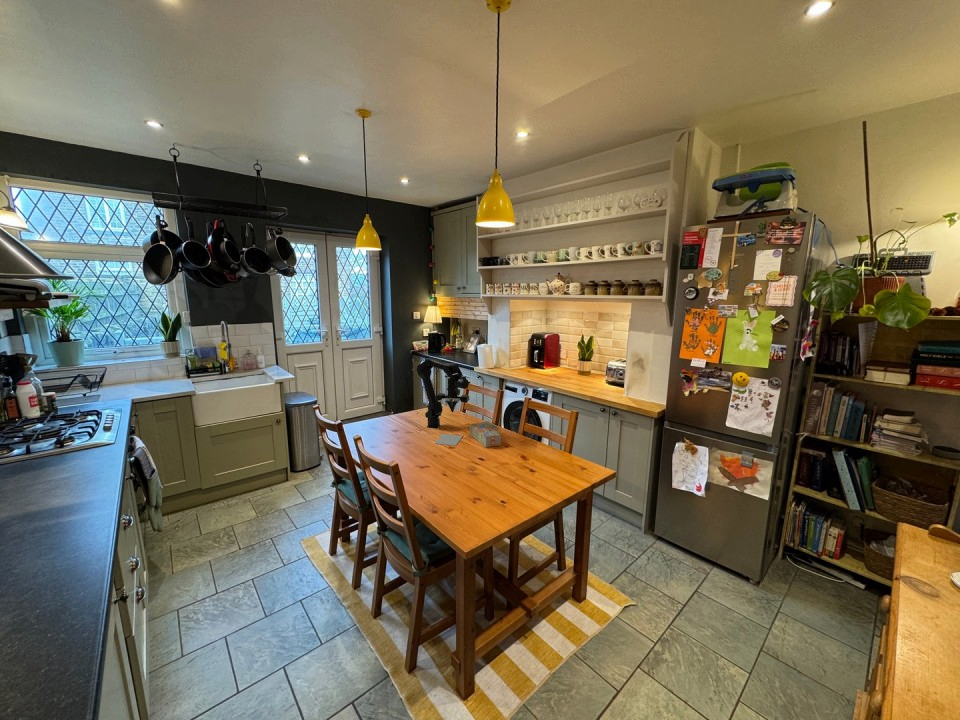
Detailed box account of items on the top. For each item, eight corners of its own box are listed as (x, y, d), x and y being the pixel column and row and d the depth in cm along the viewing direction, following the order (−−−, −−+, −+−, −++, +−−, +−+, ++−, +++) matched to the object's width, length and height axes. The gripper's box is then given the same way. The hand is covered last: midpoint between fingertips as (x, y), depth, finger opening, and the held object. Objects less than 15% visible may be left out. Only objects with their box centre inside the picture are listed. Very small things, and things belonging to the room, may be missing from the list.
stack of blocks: (485, 447, 205) (505, 444, 210) (485, 436, 204) (505, 433, 209) (469, 434, 224) (488, 430, 229) (469, 423, 223) (488, 420, 228)
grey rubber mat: (434, 443, 210) (434, 443, 210) (443, 434, 223) (443, 433, 223) (455, 446, 207) (455, 445, 207) (462, 436, 221) (462, 435, 221)
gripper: (471, 383, 225) (471, 409, 228) (441, 381, 230) (442, 406, 233) (466, 388, 215) (466, 415, 218) (435, 386, 219) (435, 412, 222)
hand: (452, 412), depth 223 cm, fingers closed
